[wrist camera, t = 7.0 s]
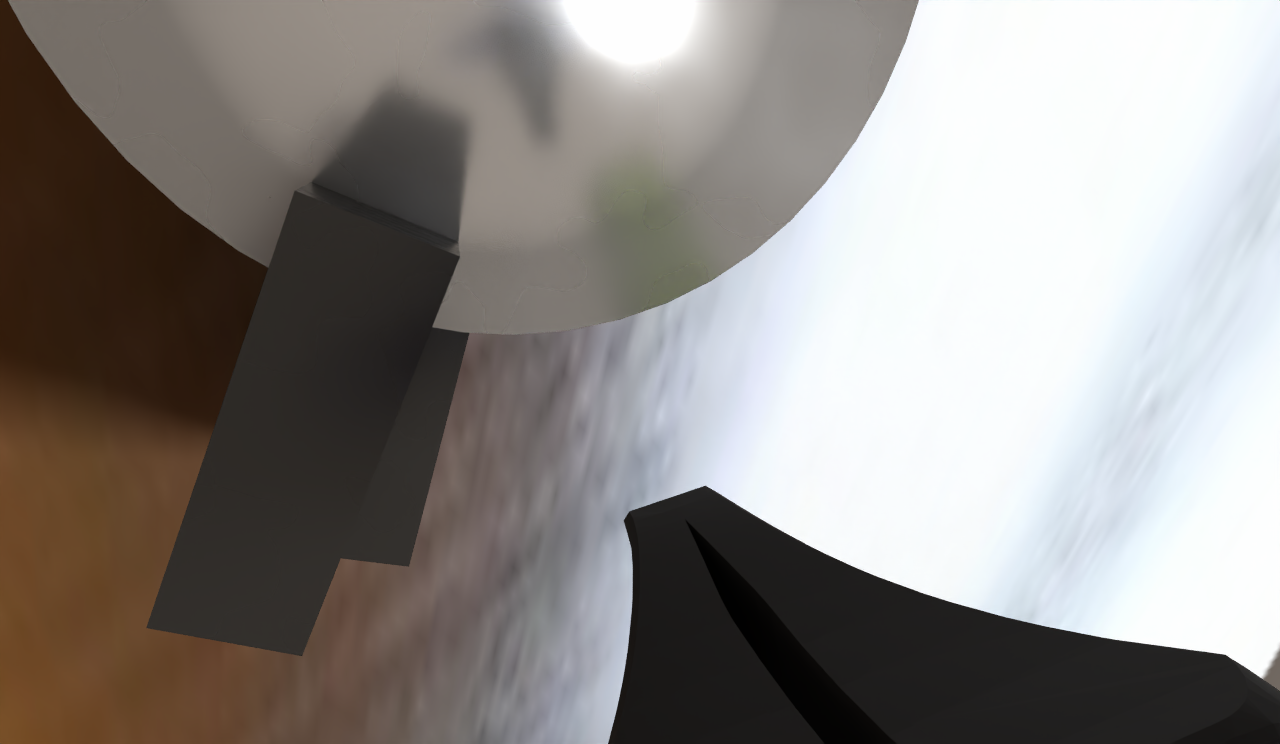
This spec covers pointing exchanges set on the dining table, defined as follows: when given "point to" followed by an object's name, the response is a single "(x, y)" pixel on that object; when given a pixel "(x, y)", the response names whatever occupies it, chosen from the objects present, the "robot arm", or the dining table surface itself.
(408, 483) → the cooker pot
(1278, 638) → the dining table surface
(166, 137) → the cooker lid
